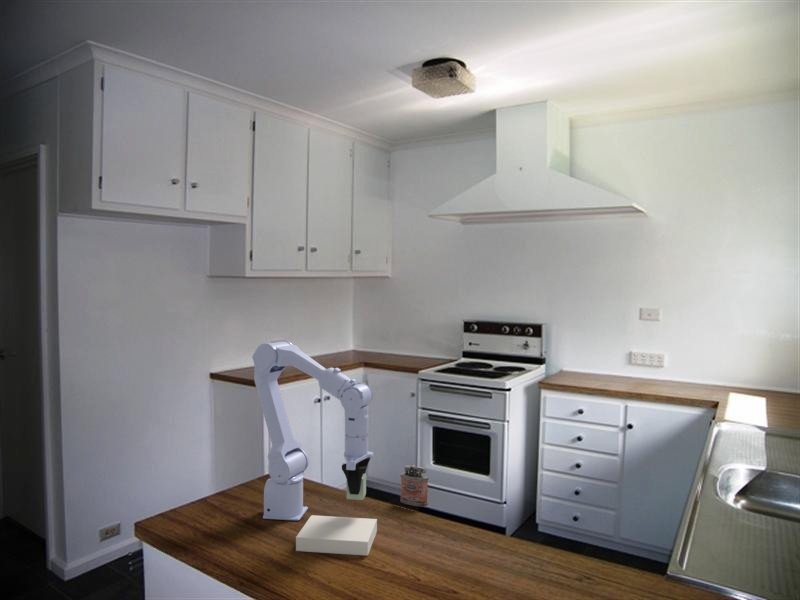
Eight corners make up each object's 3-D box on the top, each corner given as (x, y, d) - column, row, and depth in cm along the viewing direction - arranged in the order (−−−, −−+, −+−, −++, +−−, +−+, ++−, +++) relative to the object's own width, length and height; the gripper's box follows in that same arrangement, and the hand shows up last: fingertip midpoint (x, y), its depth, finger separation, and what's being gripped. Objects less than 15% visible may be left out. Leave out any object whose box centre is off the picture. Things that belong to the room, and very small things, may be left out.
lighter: (397, 502, 150) (398, 465, 150) (403, 498, 153) (403, 462, 153) (424, 507, 146) (425, 470, 146) (430, 503, 149) (430, 466, 149)
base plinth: (295, 550, 121) (296, 537, 121) (311, 527, 133) (311, 515, 133) (367, 555, 119) (367, 541, 119) (376, 531, 131) (377, 519, 131)
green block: (346, 499, 132) (346, 478, 132) (350, 492, 136) (350, 472, 136) (363, 499, 132) (363, 478, 131) (366, 493, 136) (366, 473, 135)
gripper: (367, 443, 126) (367, 502, 126) (377, 427, 140) (377, 480, 140) (337, 442, 127) (337, 501, 127) (350, 426, 141) (349, 479, 141)
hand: (356, 490), depth 134 cm, fingers closed on green block, 4 cm apart
